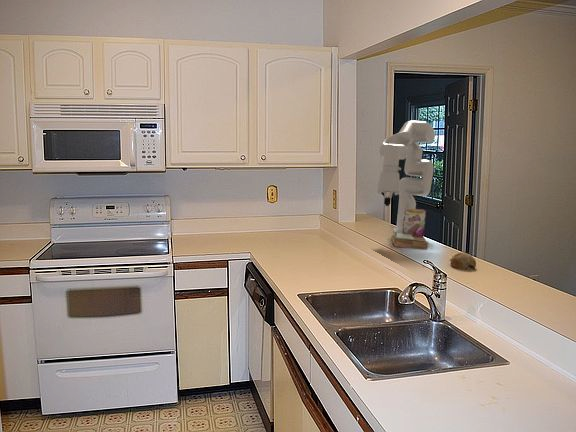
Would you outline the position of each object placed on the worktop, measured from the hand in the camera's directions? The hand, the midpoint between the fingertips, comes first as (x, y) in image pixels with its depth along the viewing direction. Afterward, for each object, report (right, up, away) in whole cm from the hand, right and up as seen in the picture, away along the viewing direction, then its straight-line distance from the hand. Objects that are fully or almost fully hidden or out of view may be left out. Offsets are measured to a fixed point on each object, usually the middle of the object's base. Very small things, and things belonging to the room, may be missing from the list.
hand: (387, 205), depth 273 cm
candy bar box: (+16, -18, +15) cm, 28 cm away
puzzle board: (+11, -19, +1) cm, 23 cm away
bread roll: (+24, -27, -44) cm, 57 cm away
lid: (+8, -16, +1) cm, 18 cm away
